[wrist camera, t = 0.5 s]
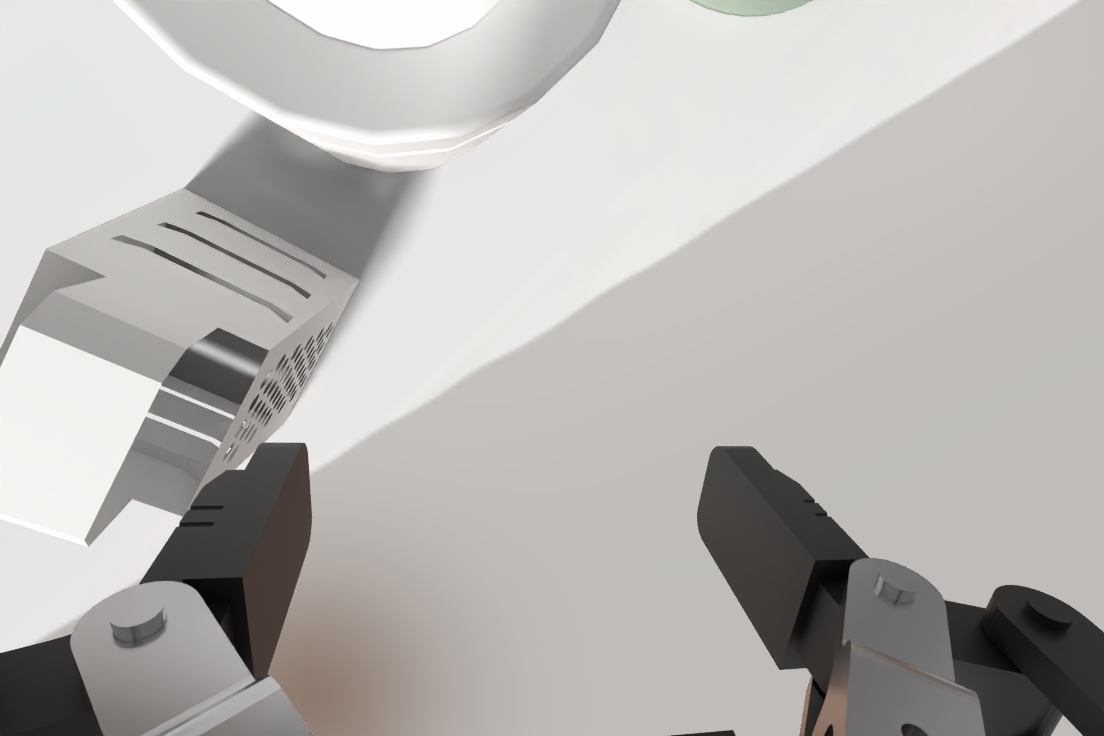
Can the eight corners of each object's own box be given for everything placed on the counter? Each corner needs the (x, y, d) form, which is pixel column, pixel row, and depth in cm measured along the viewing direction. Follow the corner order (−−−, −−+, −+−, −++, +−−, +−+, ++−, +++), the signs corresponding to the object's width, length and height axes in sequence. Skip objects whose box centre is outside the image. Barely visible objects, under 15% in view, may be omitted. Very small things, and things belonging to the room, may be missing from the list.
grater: (360, 279, 37) (313, 362, 18) (284, 423, 38) (167, 639, 20) (183, 188, 34) (-97, 174, 15) (106, 349, 35) (-242, 524, 16)
